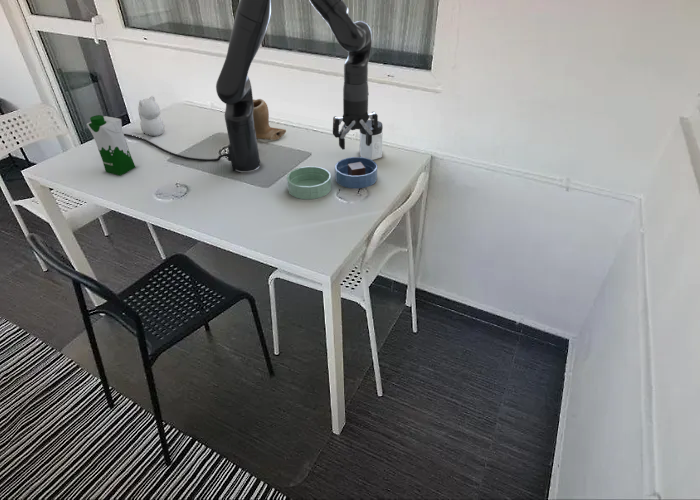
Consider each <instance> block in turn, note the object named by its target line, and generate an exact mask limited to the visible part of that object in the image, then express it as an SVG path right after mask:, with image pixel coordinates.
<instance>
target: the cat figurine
mask: <svg viewBox="0 0 700 500" xmlns="http://www.w3.org/2000/svg"><path fill="white" fill-rule="evenodd" d="M137 106H138V107H137V109H138V116H139V120H140V123H139V125H140V130H141V131H142V133H143V134H144V133H145V134H144V135H147V136H151V137H157V136H160V135H162V134H163V133H164V132H165V123H164V121H163V119H162V117H160V115H161V108H160V106H159V104H158V103H157V102H156V98H155V96H154V95H151V96H150V97H149V98H144V99H140V100H139V101H138V105H137ZM148 134H150V135H148Z"/></svg>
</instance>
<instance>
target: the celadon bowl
mask: <svg viewBox="0 0 700 500" xmlns="http://www.w3.org/2000/svg"><path fill="white" fill-rule="evenodd" d="M286 185H287V191H288V194H289V195H291V196H292V197H293V198H296V199H301V200H314V199H315V200H316V199H320V198H323V197H325V196H326V195H329V193H330V192H331V191H332V174H331V172H330V170H328V169H327V168H323V167H321V166H315V165H314V166H313V165H312V166H308V165H307V166H302V167H297V168H295V169H293V170H291V171H289V173H288V174H287V175H286Z"/></svg>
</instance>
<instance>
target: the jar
mask: <svg viewBox="0 0 700 500" xmlns="http://www.w3.org/2000/svg"><path fill="white" fill-rule="evenodd" d="M366 125H367V126H368V127H369V129H370V128H372V120H371V119H368V121H367V122H366ZM383 126H384V125H383V123H382V122H381V121H380V120H378V132H374V133H373V134H372V143H371V144H370V146H367V145H366V133H367V131H366V130H365V129H364V128H361V129H359V157H362V158H367V159H370V160H372V161H374V160H377V159H381V158H382V157H383V136H384V135H383Z"/></svg>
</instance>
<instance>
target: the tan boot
mask: <svg viewBox="0 0 700 500" xmlns="http://www.w3.org/2000/svg"><path fill="white" fill-rule="evenodd" d="M253 105H254V110H253V119H254V125H255V132H256V139H257V140H263V141H277V140H279V139H281V138H282V137H283V136H284V135H285V134H286V133H287V130H286V129H284V128H277V127H271V125H270V121H269V120H270V113H269V107H268V104H267V103H266V101H264V100H263V99H261V98H257V99H253Z"/></svg>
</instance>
